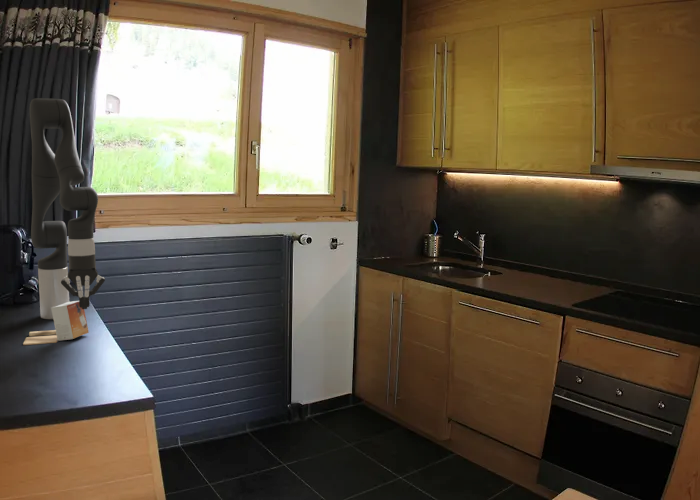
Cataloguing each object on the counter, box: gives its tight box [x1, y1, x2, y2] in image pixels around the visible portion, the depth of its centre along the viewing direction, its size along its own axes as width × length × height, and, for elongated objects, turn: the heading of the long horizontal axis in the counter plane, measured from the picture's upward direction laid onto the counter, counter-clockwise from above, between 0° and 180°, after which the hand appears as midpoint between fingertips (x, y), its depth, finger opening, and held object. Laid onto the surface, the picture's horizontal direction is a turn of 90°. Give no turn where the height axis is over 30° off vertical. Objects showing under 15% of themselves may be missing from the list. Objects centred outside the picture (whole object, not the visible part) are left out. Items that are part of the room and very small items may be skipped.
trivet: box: [22, 334, 58, 346], centre depth 189 cm, size 7×9×1 cm
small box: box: [51, 300, 90, 342], centre depth 191 cm, size 8×6×10 cm
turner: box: [28, 329, 57, 337], centre depth 196 cm, size 14×5×1 cm, turn 112°
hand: (84, 308), depth 192 cm, fingers closed
